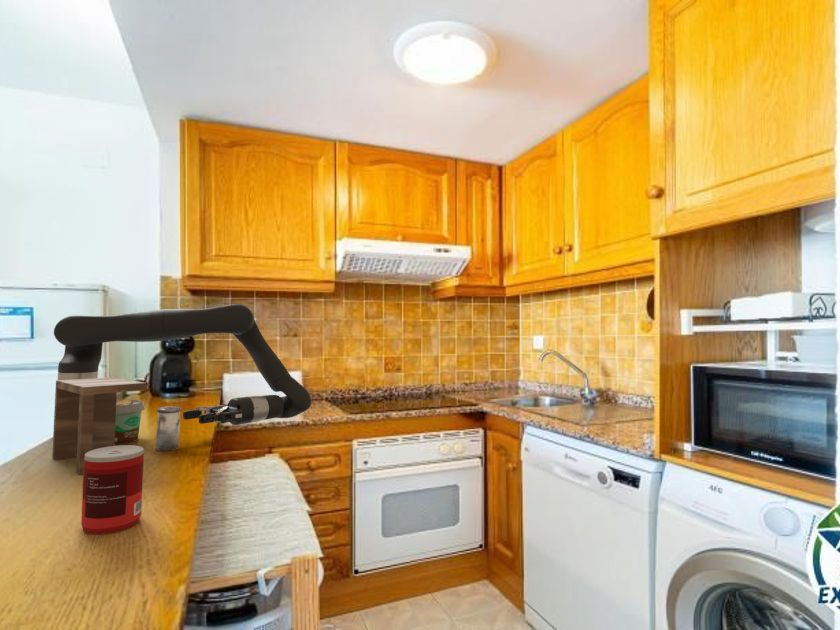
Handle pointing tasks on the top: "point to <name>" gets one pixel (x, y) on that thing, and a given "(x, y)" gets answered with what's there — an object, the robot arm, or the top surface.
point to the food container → (128, 421)
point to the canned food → (112, 488)
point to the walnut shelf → (86, 415)
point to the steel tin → (167, 428)
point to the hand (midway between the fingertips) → (191, 417)
